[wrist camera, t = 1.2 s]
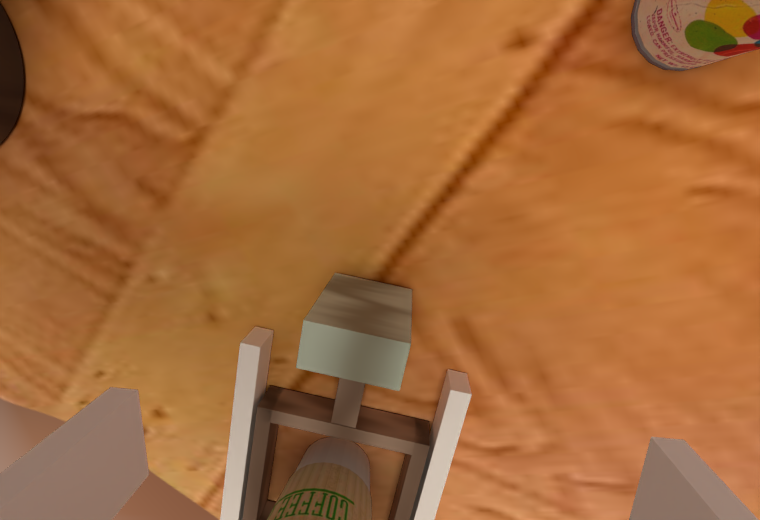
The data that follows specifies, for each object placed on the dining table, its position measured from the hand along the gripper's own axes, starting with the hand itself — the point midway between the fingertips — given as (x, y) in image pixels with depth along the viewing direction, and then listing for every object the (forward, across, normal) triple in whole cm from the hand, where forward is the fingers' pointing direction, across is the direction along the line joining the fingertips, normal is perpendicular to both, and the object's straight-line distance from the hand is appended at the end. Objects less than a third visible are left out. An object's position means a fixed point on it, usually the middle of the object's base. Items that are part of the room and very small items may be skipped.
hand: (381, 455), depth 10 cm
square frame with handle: (+21, -4, -14) cm, 26 cm away
